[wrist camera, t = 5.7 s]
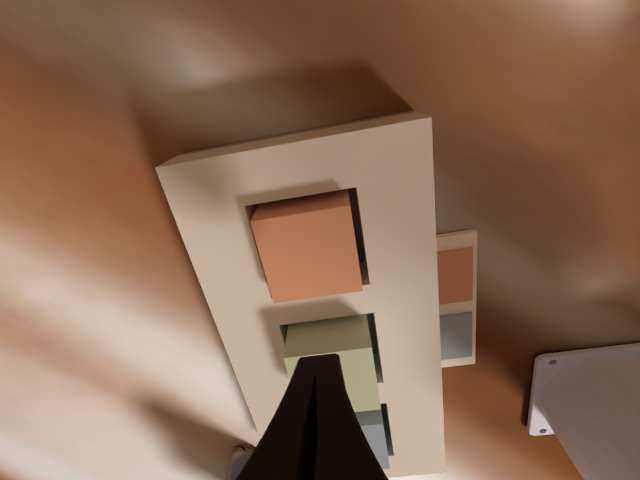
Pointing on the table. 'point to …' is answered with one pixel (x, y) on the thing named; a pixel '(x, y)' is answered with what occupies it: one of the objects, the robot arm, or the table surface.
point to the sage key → (350, 345)
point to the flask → (238, 461)
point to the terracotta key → (308, 246)
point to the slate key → (375, 434)
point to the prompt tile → (457, 296)
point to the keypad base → (373, 254)
